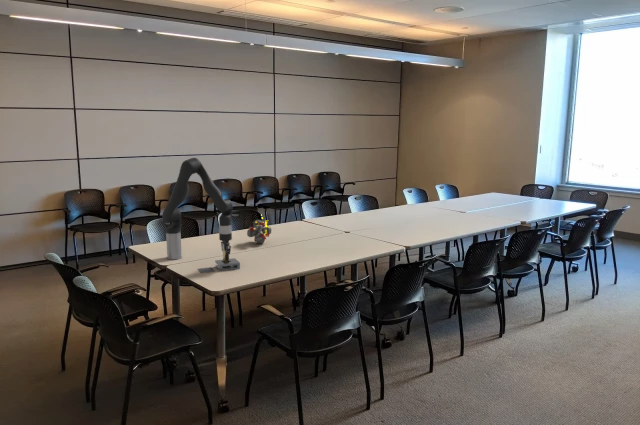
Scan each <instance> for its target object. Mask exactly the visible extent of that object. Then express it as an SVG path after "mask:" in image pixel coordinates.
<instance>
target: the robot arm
mask: <svg viewBox="0 0 640 425" xmlns="http://www.w3.org/2000/svg"><path fill="white" fill-rule="evenodd" d="M179 168H180V169H179V173H178V176H177V179H176V182H175V185H174V187H173V189H172V192H171V195H170V197H169V199H168V202H167V203H166V206H165V207H164V209H163V212H162V214H161V215H162V216H161V217H162V221H163V222H164V223H165V224H171V225H169V226H168V227H167V228H166V229H165V237H166V255H167V258H166V259H168V260H179V259H181V258H182V257H183V256H182V255H183V254H182V236H181V235H182V234H181V232H182V231H181V230H182V212H181V210H180V208H179V207H178V206H180V205H181V204H182V203H183V202H184V201H185V200H186V199H187V197H188V194H189V192H190V185H189V181H190V178H191V176H193V175H194V174H197V175H198V176H199V178H200V179H201V181H202V186H203V190H204V191H205V193H206V194H207V195H208V197H209V198H210V199H211V200H212V202H213V205H214V206H215V208H216V209H217V211H219V212H220V213H221V215H219V220H218V224H219V225H218V226H219V227H218V236H219V238H218V239H219V241H220V245H221V251H222V252H223V248H224V251H225V260H226V261H228V260H229V259H230V255H231V247H232V246H231V245H230V244H231V243H230V241H232V240H233V237H232V236H233V233H232V232H233V231H232V230H233V229H232V215H233V214H232V213H233V208H234V207H233V202H232V201H231V199H228V198H225V199H224V198H223V197H222V196H223V193H222V192H221V190H220V189H219V188H218V186H217V185H216V184H215V183H214V181H213V180H212V178H211V177H210V175H209V173H208V172H207V170H206V169H205V167H204V165H203V163H202V162H201V161H200V160H199V159H198V158H196V157H191V158H189V159H186V160H184V161H183V162H182V163H181V166H180V167H179ZM225 249H226V250H225ZM227 251H228V252H227Z"/></svg>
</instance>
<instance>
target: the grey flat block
mask: <svg viewBox="0 0 640 425" xmlns="http://www.w3.org/2000/svg"><path fill="white" fill-rule="evenodd" d="M214 263H215V265H214V267H215V268H216V269H217V270H218V271H219V272H222V271H223V272H225V271H233V270H240V269H241V263H240V261H239V260H237V259H236V258H229V262H228V263H223V259H217V260H214Z"/></svg>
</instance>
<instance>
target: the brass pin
mask: <svg viewBox="0 0 640 425" xmlns="http://www.w3.org/2000/svg"><path fill="white" fill-rule="evenodd" d="M225 250H226V249H225ZM227 252H228V251H227ZM222 258H223V259H222V260H223V263H228V262H229V260H228V261H226V260H225V251H224V247H223V251H222Z"/></svg>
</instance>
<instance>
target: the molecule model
mask: <svg viewBox="0 0 640 425" xmlns="http://www.w3.org/2000/svg"><path fill="white" fill-rule="evenodd" d="M260 216H263V214H261V215H260ZM262 219H264V217H261V219H255V220H254V221H253V222H252V223H253V225H252V226H249V229H247V231H246V233H247V234H246V235H247V237H248V238H254V239H253V240H254V242H256V243H257V244H262V245H263V244H264V243H265V240H267V237H268V238H269V237H270V235H271V233H272V229H273V230H274V228H272V227H271V226H268V221H262ZM246 224H247V222H246Z"/></svg>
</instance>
